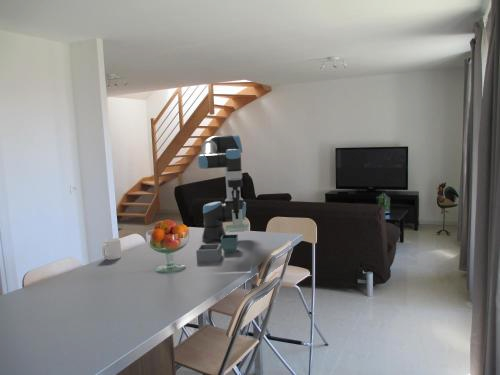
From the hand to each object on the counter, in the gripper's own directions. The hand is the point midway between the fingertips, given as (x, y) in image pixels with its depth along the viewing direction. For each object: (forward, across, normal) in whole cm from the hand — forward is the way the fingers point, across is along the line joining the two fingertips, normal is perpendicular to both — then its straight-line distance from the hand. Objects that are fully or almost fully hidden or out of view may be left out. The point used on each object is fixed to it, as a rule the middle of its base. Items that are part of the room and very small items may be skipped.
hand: (237, 224), depth 212 cm
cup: (+17, -7, -71) cm, 74 cm away
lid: (+1, +5, 0) cm, 5 cm away
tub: (+17, +5, -15) cm, 23 cm away
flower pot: (+17, -9, -6) cm, 20 cm away
